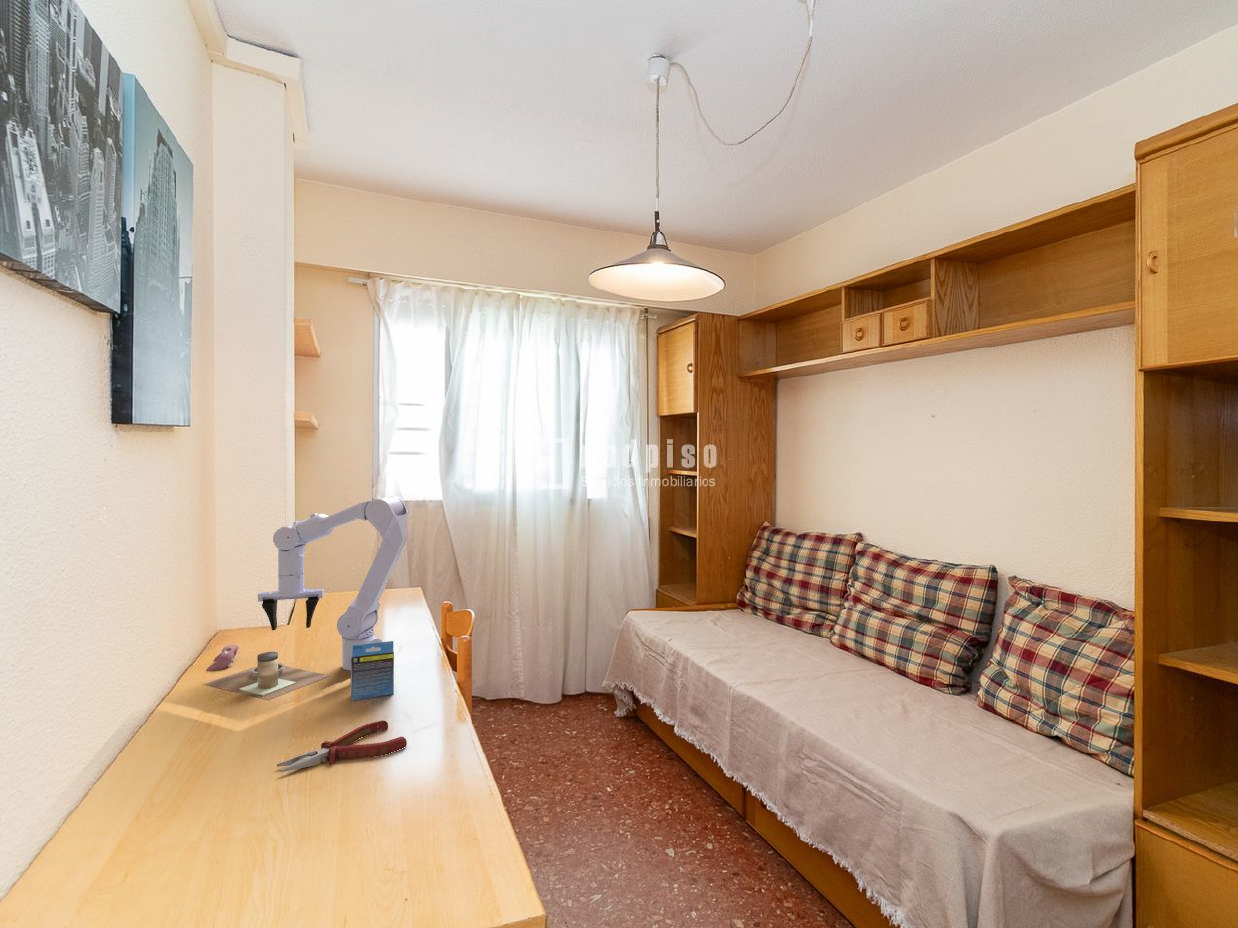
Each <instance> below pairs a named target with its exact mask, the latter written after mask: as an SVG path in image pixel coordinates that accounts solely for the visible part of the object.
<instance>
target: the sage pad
mask: <svg viewBox="0 0 1238 928" xmlns="http://www.w3.org/2000/svg"><path fill="white" fill-rule="evenodd" d="M294 684H296V682H292V681H288V680H283V679H279V678H278V685H277V686H275V687H272V688H268V689H259V688H258V682H257V683H254V684H251V685H248V686H246V687H243V688H240V689H239V690H240V691H244V692H248V693H252V694H256V695H261V696H265V695H268V694H270V693H273V692H276V691H278V690H281V689H283V688H286V687H289V686H291V685H294Z"/></svg>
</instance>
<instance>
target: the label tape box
mask: <svg viewBox="0 0 1238 928" xmlns="http://www.w3.org/2000/svg"><path fill="white" fill-rule="evenodd" d="M372 647H374V648H380V650H379V651H371V652H366V649H371V648H372ZM394 675H395V651H394V640H389V641H382V642H379V643H369V644H359V645H352V657H351V670H350V700H351V701H352V702H353V701H361V700H367V699H373V698H377V697H378V698H379V697H384V696H385V697H386V696H390V695H394V692H395V684H394V683H395V676H394Z"/></svg>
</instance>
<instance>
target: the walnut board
mask: <svg viewBox="0 0 1238 928" xmlns="http://www.w3.org/2000/svg"><path fill="white" fill-rule="evenodd" d="M257 666H258V665H257ZM257 666H253V667H251V668H248V669H245V670H241V671H239V672H235V673H233V674H229V675H227V676H223V677H219V678H217V679H214V680H210V681H208V682H205V683H203V684H202V685H203V686H208V687H212V688H216V689H219V690H220V689H221V690H224V691H228V692H232V693H237V694H241V695H245V696H249V697H253V698H257V699H260V700H261V699H262V700H265V701H270V700H272V699H275V698H278V697H281V696H283V695H285V694H288V693H291V692H293V691H296V690H299V689H300V688H304V687H306V686H310V685H311V684H313V683H316V682H317V683H318V682H319V681H322V680H324V679H327V678H329V677H331V676H332V675H331V674H326V673H320V672H316V671H311V670H307V669H306V670H305V669H301V668H297V667H291V666H286V665H285V672H284V673H283V674H281V675H278V678H279V679H283V680H288V681H292V682H296V684H294V685H291V686H289V687H286V688H283V689H281V690H278V691H276V692H273V693H270V694H268V695H265V696H261V695H256V694H252V693H248V692H244V691H240V690H239V689H240V688H243V687H246V686H248V685H251V684H254V683H257V682H258V679H257V678H253V677H252V676H251V670H252V669H253V668H254V667H257Z"/></svg>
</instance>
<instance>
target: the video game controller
mask: <svg viewBox="0 0 1238 928" xmlns="http://www.w3.org/2000/svg"><path fill="white" fill-rule="evenodd" d="M239 648H240V646H238V645H237V644H231V643H230V644H229V645H226V646H224V647H223V649H222V650H221V652H220V653H219V654H218V655H216V656H215V658H214V659H213V663H212V664H210V665H209V666H208V667H207V668H206V671H208V672H209V671H219V670H224V669H226V668H228V667H229V665H230V664H234V663H235V661H236V659H235V658H234V657H236V656H237V654H238V651H239Z"/></svg>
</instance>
